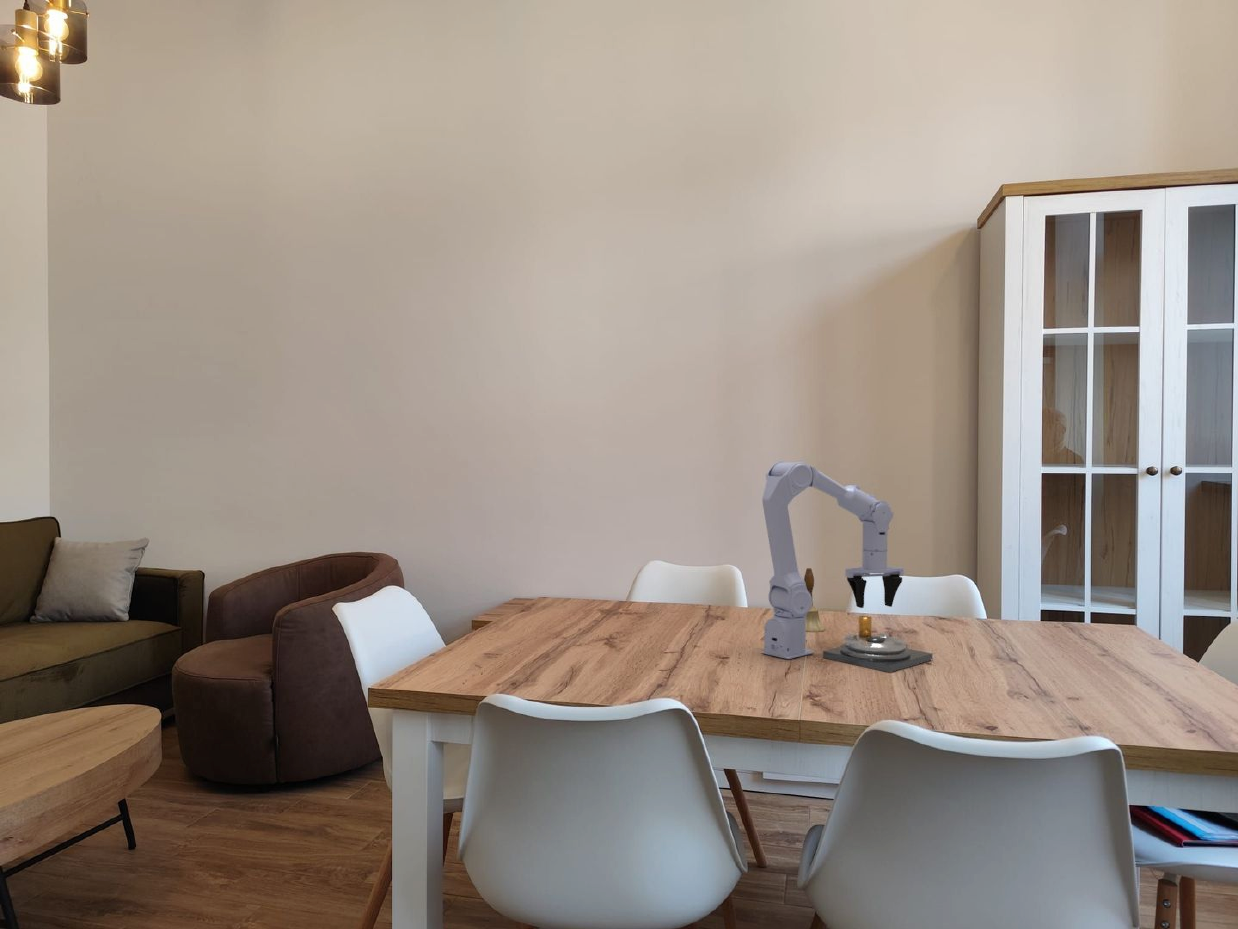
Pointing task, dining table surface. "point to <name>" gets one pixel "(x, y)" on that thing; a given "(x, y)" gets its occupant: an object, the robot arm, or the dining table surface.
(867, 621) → the grey crank wheel
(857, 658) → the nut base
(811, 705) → the dining table surface
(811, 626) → the hand bell
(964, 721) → the dining table surface
